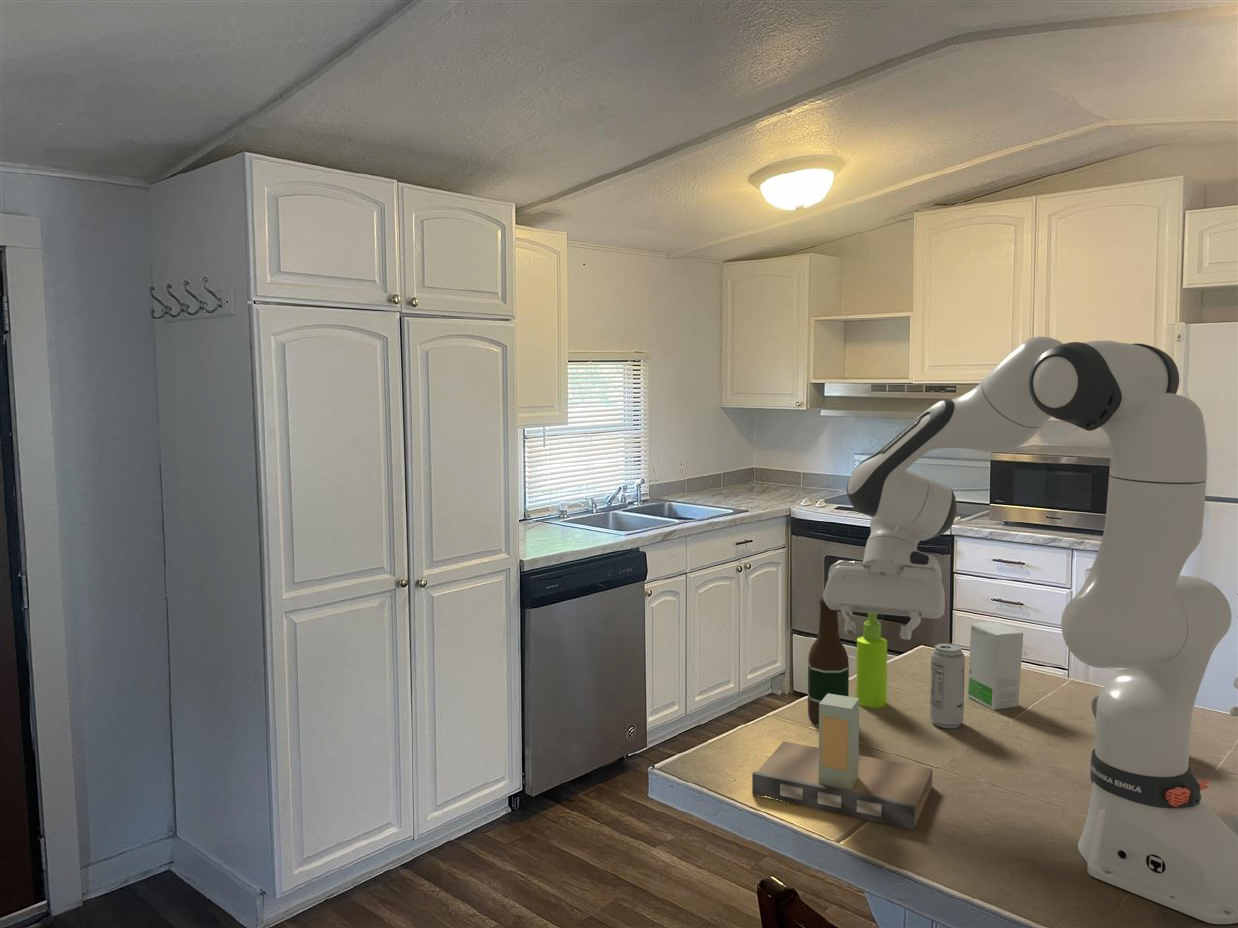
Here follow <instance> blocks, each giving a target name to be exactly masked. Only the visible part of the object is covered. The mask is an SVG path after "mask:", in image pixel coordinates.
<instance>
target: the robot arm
mask: <svg viewBox="0 0 1238 928" xmlns="http://www.w3.org/2000/svg"><path fill="white" fill-rule="evenodd" d="M1178 369H1179V368H1178V367H1177V364H1176V362H1175V361H1174V359H1173V358H1172V356H1170V355H1169V354H1168V353H1166V352H1165V351H1163V350H1161V349H1159V348H1158V347H1155V346H1151V345H1150V344H1144V343H1128V342H1127V343H1126V342H1118V341H1114V340H1091V341H1085V342H1081V341H1080V342H1079V341H1072V342H1071V341H1070V342H1066V343H1063V342H1062V341H1060V340H1058V339H1055V338H1052V337H1048V336H1034V337H1031V338H1028V339H1026V340H1025V341H1024V342H1022V343H1021V344H1019V345H1018V346H1016V348H1014V349H1013V350H1012V351H1010V352H1009V354H1007V355H1005V357H1004V358H1003V359H1001V360H1000V362H998V363H997V365H996V366H995V367H993V369H992V370H991V371H990V372H989V373H988V374H987V375H986V377H984V379H983V380H982V381H981V382H980V383H979V384H978V385H977V386H975V387H974V388H973V389H970V390H969V391H968V392H966V393H964V394H962V395H959V396H958V397H954V398H951V399H945V400H940V401H937V402H936V403H934V404H933V405H931V406H930V407H929V408H927V409H926V410H925V411H923V412H922V413H921V414H920V415H919V416H918V417H916V418H915V419H914V420H913V421H912V422H910V423H909V424H908V425H907V426H906V427H905V428H904V429H902V430H901V431H900V432H899V433H898V434H896V436H894V437H893V438H892V439H891V440H889V441H888V442H887V444H885V445H884V446H883V447H882V448H880V449H879V450H878V451H877V452H875V453H874V454H872V455H871V456H868V457H866V458H865V459H864V460H862V461H861V462H860V463H859V464H857V466H856V467H855V468H854V470H853V471H852V472H851V475H850V476H849V478H848V482H847V484H846V495H847V498H848V499H849V502H850V504H851V505H852V507H853V509H854V510H855V512H856V513H860V514H863V515H866V516H869V517H870V523H869V527H870V534H869V536H868V538H867V540H866V544H865V549H864V554H863V560H862V561H860V560H859V561H858V560H852V561H851V560H849V561H848V560H844V559H842V560H838V561H837V562H835V563H833V564H831V565H830V567H829V569H828V574H827V578H828V579H827V581H826V585H825V588H824V591H823V595H822V598H823V599H824V601H825V603H826V605H827V606H828V607H829V608H830V609H831V610H837V611H840V612H841V614H842V615H841V616H842V617H843V618H844V627H843V631H844V633H845V634H849V635H854V634H855V633H856V629H857V624H856V622H855V621H854V620H850V617H853V616H852V615H853V612H854V613H863V614H864V613H866V614H868V613H876V614H877V615H888V616H897V617H898V616H899V617H909V618H910V620H909V621H908V623H907V624H906V625H901V626H900V631H899V637H900V639H901V640H911V638H912V634H913V631H914V630H915V629H916V628H917V627H918V626H919V625H920V624H921V619H935V620H938V619H940V618H941V617H943V616H944V614H945V610H946V608H945V607H946V593H945V588H944V585H943V582H942V578H943V574H942V573H943V572H942V569H941V566H940V563H939V561H938V559H937V558H936V556H934V555H931V554H929V553H925V552H924V551H923V552H922V551H920V550H918V543H920V542H921V541H923V542H926V541H929V540H931V539H934V538H937V537H939V536H940V535H943V534H945V533H947V532H948V531H949V530H950V529H951V528H952V526H953V524H954V521H955V518H956V516H957V515H956V514H957V509H958V506H957V498H956V495H955V493H954V490H953V489H952V488H951V487H949V486H947V485H946V484H944V483H941V482H939V481H937V480H934V479H932V478H929V477H927V476H924V475H922V474H919V473H917V472H915V471H911V470H910V469H908V468H909V467H911V466H912V465H913V464H914V463H915V462H917V461H918V460H919V459H921V458H922V456H924V455H926V454H927V453H928V452H929V453H930V452H931V451H934V450H937V449H938V450H939V449H965V450H973V451H978V452H979V451H980V452H985V453H986V452H987V453H1003V452H1008V451H1012V450H1014V449H1015V450H1016V449H1017V448H1019V447H1021V446H1023V445H1024V444H1025V443H1027V442H1029V440H1031V439H1032V438H1033V437H1034V436H1035V435H1036V434H1037V433H1038V432H1039V431H1040V430H1041V428H1043V426H1044V425H1045V424H1047V422H1048V421H1049V420H1051V418H1055V419H1057V420H1060V421H1062V422H1064V423H1068V424H1072V425H1074V426H1076V427H1078V428H1080V429H1083V430H1085V431H1087V432H1092V431H1095V430H1097V429H1099V428H1100V429H1101V430H1102V431H1103V432H1104V433H1105V434H1106V435H1107V437H1108V439H1109V445H1110V461H1109V470H1108V471H1109V472H1108V473H1109V474H1108V486H1107V487H1108V489H1107V498H1106V499H1107V500H1106V511H1105V522H1104V528H1103V535H1102V538H1101V541H1100V544H1099V547H1098V550H1097V552H1096V553H1097V554H1096V556H1095V559H1094V561H1093V564H1092V565H1091V566H1092V567H1091V569H1090V571H1089V573H1088V575H1087V578H1086V580H1085V581H1084V584H1083V585H1082V587H1081V588H1080V590H1079V591H1078V592H1077V593H1076V595H1075V596H1073V598H1072V599H1071V600H1070V601H1069V602H1068V603H1067V605H1066V606H1065V607H1064V609H1063V612H1062V615H1061V619H1060V621H1061V622H1060V626H1061V627H1060V628H1061V634H1062V638H1063V640H1064V642H1065V644H1066V646H1067V649H1068V650H1069V651H1070V652H1071V653H1072V654H1073V656H1074V657H1075V658H1076V659H1078V660H1079V661H1080V662H1082V663H1083V664H1085V665H1087V666H1089V667H1093V668H1097V669H1098V668H1099V669H1108V670H1109V669H1110V670H1114V672H1113V674H1112V676H1111V677H1110V679H1109V681H1108V682H1107V683H1106V685H1104V686H1103V688H1102V690H1101V691H1100V692H1099V694H1100V695H1099V697H1098V700H1097V712H1096V718H1095V737H1094V738H1095V739H1094V744H1095V745H1094V748H1093V749H1092V751H1091V754H1090V755H1091V756H1090V757H1091V758H1090V771H1089V772H1090V773H1089V775H1090V782H1091V787H1092V788H1091V794H1090V801H1089V802H1090V803H1089V807H1088V812H1087V816H1086V820H1085V824H1084V827H1083V830H1082V833H1081V835H1080V838H1079V841H1078V843H1077V849H1078V852H1079V853H1080V854H1079V855H1081V856H1082V858H1083V859H1084V860H1085V861H1086V864H1087V865H1086V866H1087V867H1086V868H1087V869H1086V870H1087V873H1088V875H1090V876H1091V877H1093V878H1095V879H1097V880H1100V881H1102V882H1105V883H1107V884H1109V885H1112V886H1114V887H1117V888H1120V889H1123V890H1125V891H1127V892H1130V893H1132V894H1135V895H1137V896H1140V897H1143V898H1145V899H1147V900H1150V901H1152V902H1154V903H1158V904H1160V905H1163V906H1165V907H1168V908H1170V909H1173V910H1175V911H1178V912H1180V913H1182V914H1185V915H1186V916H1187V915H1188V916H1189V917H1192V918H1194V919H1197V920H1200V921H1203V922H1205V923H1208V924H1211V925H1213V924H1214V925H1230V924H1231V925H1232V924H1237V923H1238V835H1237V834H1236V833H1235V832H1234V831H1233V830H1232V829H1231V828H1230V827H1229V826H1228V825H1227V824H1225V822H1224V821H1223V820H1222V819H1221V818H1220V817H1219V816H1218V815H1217V814H1216V813H1215V812H1214V811H1213V810H1212V809H1211V808H1210V807H1209V806H1208V805H1207V804H1206V802H1205V801H1204V800H1203V799H1202V794H1201V791H1203V790H1206V789H1208V788H1209V785H1208V783H1209V781H1210V780H1209V779H1207V778H1205V779H1203V780H1201V781H1197V779H1196V777H1195V775H1194V772H1193V770H1192V767H1191V766H1190V764H1189V757H1190V745H1191V744H1190V742H1191V730H1192V728H1191V727H1192V718H1193V712H1194V706H1195V704H1196V703H1195V702H1196V699H1197V695H1198V693H1199V690H1200V687H1201V684H1202V681H1203V678H1204V675H1205V673H1206V671H1207V667H1208V665H1209V662H1210V659H1211V657H1212V655H1213V653H1214V651H1215V649H1216V648H1217V646H1218V644H1219V643H1220V642H1221V640H1223V638H1224V637H1226V635H1227V633H1229V632H1228V631H1229V630H1230V627H1231V623H1232V610H1231V606H1230V603H1229V600H1228V599H1227V597H1226V596H1225V594H1224V592H1222V590H1220V589H1219V587H1218V586H1216V585H1215V584H1214V583H1212V582H1210V581H1208V580H1206V579H1204V578H1201V577H1196V576H1189V575H1182V574H1181V572H1182V570H1183V568H1184V566H1185V564H1186V562H1187V560H1188V559H1189V557H1190V556H1191V555H1192V553H1193V552H1194V551H1196V549H1197V548H1198V546H1199V545H1200V543H1201V541H1202V537H1203V528H1204V514H1205V506H1206V505H1205V504H1206V501H1205V500H1206V493H1207V492H1206V490H1207V489H1206V488H1207V477H1208V475H1207V473H1208V451H1207V450H1208V448H1207V447H1208V445H1207V436H1206V435H1207V434H1206V428H1205V422H1204V416H1203V412H1202V409H1201V408H1200V407H1199V405H1198V404H1197V403H1196V402H1195V401H1193V400H1191V399H1189V398H1187V397H1185V396H1183V395H1181V394H1177V393H1178V390H1179V386H1180V372H1179V370H1178Z"/></svg>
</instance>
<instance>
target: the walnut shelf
mask: <svg viewBox="0 0 1238 928" xmlns="http://www.w3.org/2000/svg"><path fill="white" fill-rule="evenodd" d="M751 775H752V776H751V777H752V781H751V782H752V783H751V785H752V788H751V789H752V791H751V792H752V794H754V795H759V796H767V797H771V798H774V799H778V800H782V801H785V802H784V803H786V802H789V803H788V804H791V803H794V804H793V805H796V804H798V805H797V806H800V805H802V806H801V807H805V806H806V807H807V808H809V807H811V808H810V809H814V808H816V809H815V810H820V811H823V812H829V813H833V814H837V815H842V816H845V817H846V816H847V817H850V818H851V817H852V818H855V819H860V820H866V821H870V822H875V823H880V824H883V825H887V826H892V827H898V828H902V829H907V830H912V831H914V830H915V828H916V826H917V823H918V821H919V819H920V816H921V814H922V811H923V809H924V807H925V804H926V802H927V800H928V798H929V795H930V794H931V793H930V792H931V791H932V788H933V768H932V767H931V768H930V767H927V766H926V767H925V766H920V765H914V764H909V763H903V762H899V761H892V760H886V759H883V758H876V757H872V756H871V757H870V756H865V755H860V754H859V761H858V779H857V780H856V782H855V784H854V785H853V787H852V789H851V790H846V789H842V788H837V787H832V786H827V785H822V784H819V747H817V746H811V745H806V744H801V743H795V742H790V741H782V742H781V743H780V745H779V746H777V748H776V749H775V751H773V753H772V754H771V755H770V756H769V758H767V760H766V761H765V762H764V763H763V764H762V766H761V767H760V768H759V769H758V770H757V771H753V772H752V773H751ZM752 794H751V795H752ZM754 795H753V796H754ZM759 796H758V797H759ZM782 801H781V802H782Z"/></svg>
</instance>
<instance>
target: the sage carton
mask: <svg viewBox="0 0 1238 928" xmlns="http://www.w3.org/2000/svg"><path fill="white" fill-rule="evenodd" d="M859 730H860V705H859V698H856V697H854V696H849V695H848V696H842V695H835V694H829V693H828V694H827V695H826V696H825V697H824V698H823V700H822V701H821V702H820V703H819V725H818V748H819V784H822V785H827V786H832V787H837V788H842V789H846V790H851V789H852V787H853V785H854V784H855V782H856V780H857V779H858V761H859V755H860V754H859V750H860V749H859V748H860V747H859V745H860V744H859V742H860V739H859V738H860V736H859V735H860V731H859Z"/></svg>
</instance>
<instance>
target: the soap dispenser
mask: <svg viewBox="0 0 1238 928" xmlns="http://www.w3.org/2000/svg"><path fill="white" fill-rule="evenodd" d="M877 617H878V614H876V613H867V620H865V621H864V622H863V636H859V637H857V639H856V687H855V688H856V697H855V698H859V706H861V707H864V708H868V709H869V708H870V709H880V708H883V707H885V706H886V705H887V690H888V689H887V684H888V683H887V680H888V679H887V678H888V677H887V675H888V640H887V639H886V638H883V637H882V624H881V622H879V621H878V620H877Z"/></svg>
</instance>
